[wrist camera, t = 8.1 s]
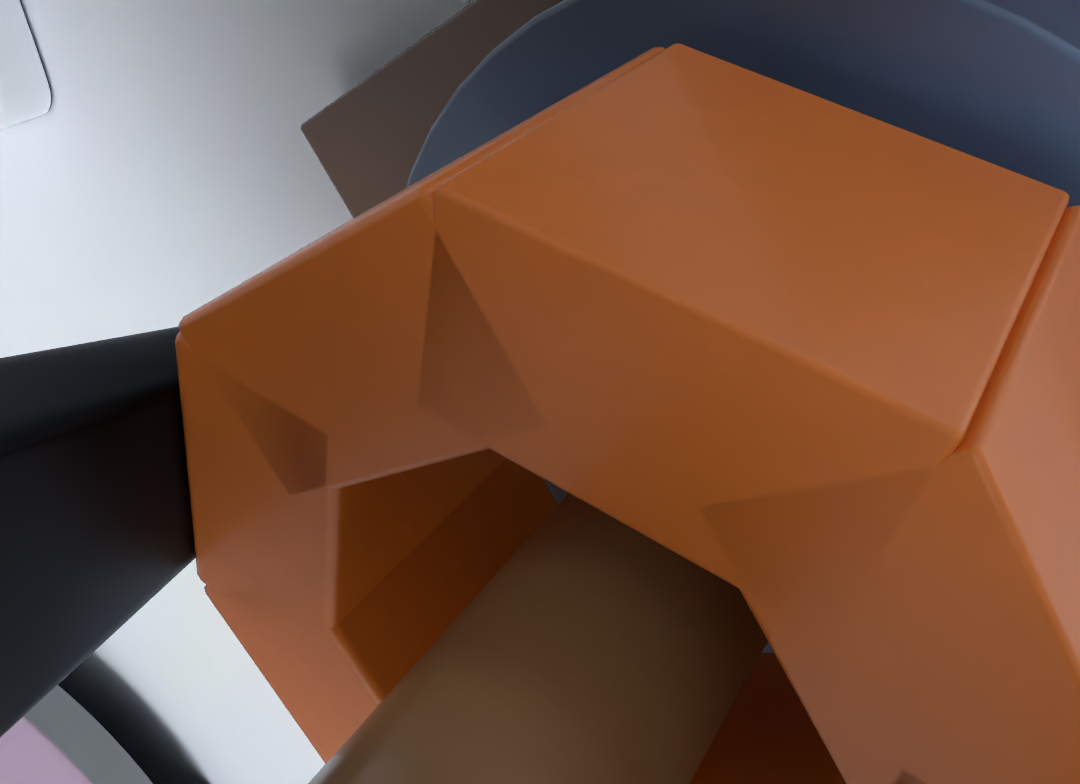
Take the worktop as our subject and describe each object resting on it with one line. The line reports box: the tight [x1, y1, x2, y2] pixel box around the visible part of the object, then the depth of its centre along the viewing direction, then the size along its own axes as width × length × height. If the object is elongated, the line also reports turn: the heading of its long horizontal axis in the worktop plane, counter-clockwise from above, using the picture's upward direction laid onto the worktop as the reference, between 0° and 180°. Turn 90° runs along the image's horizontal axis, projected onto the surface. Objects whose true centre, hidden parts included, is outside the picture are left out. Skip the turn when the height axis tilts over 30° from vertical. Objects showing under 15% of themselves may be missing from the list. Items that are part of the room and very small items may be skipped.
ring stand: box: [301, 0, 1080, 784], centre depth 8 cm, size 10×10×9 cm
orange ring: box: [175, 43, 1080, 784], centre depth 8 cm, size 7×7×3 cm
